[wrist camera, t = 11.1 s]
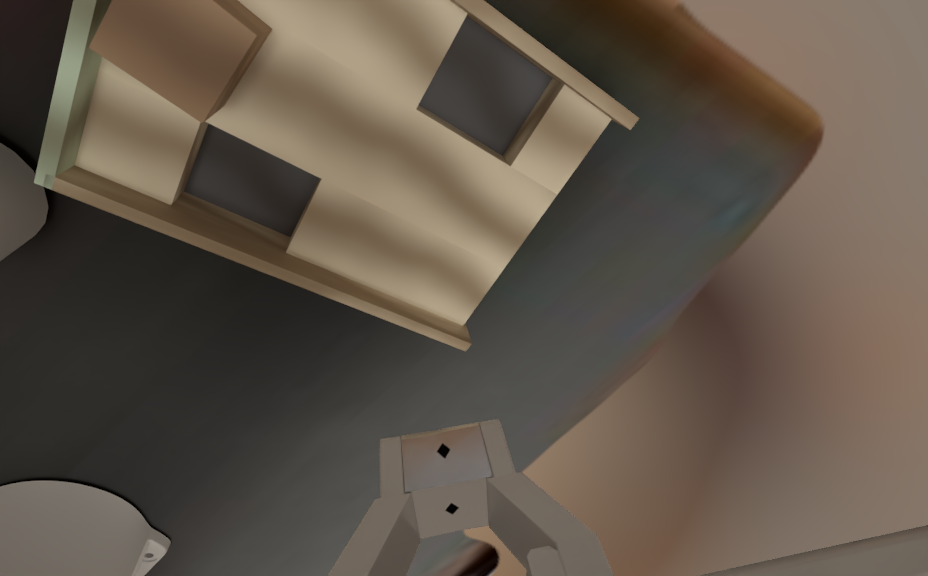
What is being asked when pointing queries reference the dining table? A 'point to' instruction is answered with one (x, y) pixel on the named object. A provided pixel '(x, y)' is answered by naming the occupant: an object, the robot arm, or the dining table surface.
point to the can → (18, 202)
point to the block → (183, 48)
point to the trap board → (342, 150)
